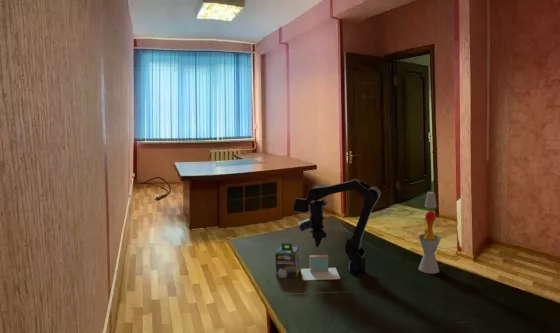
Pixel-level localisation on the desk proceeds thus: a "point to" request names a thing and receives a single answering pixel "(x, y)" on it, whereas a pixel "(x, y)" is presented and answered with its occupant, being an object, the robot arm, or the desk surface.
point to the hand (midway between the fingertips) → (317, 246)
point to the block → (318, 263)
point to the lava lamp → (429, 239)
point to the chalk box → (287, 261)
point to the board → (320, 274)
